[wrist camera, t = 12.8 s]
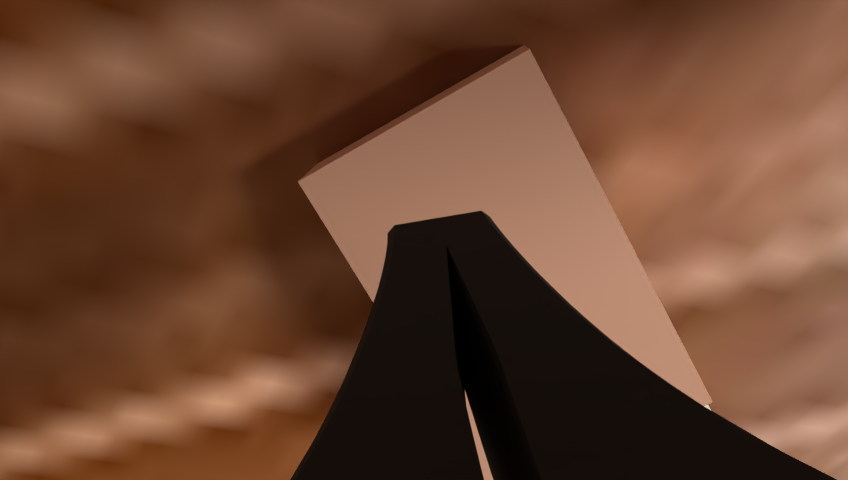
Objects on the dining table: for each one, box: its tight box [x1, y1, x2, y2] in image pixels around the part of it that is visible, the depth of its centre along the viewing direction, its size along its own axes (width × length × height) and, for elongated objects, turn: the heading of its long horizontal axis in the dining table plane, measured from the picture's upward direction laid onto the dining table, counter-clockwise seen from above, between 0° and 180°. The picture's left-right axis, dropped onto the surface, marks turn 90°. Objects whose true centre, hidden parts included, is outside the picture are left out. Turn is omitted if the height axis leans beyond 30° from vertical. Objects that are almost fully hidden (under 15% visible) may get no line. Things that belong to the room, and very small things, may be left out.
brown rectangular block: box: [298, 45, 713, 480], centre depth 15 cm, size 2×5×8 cm
